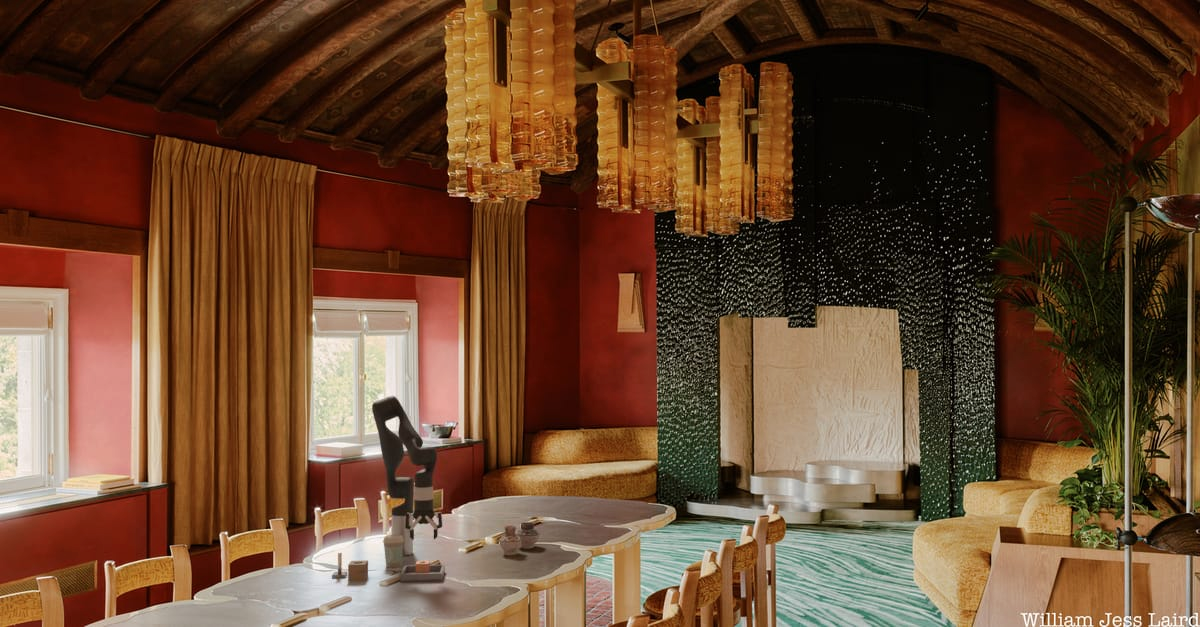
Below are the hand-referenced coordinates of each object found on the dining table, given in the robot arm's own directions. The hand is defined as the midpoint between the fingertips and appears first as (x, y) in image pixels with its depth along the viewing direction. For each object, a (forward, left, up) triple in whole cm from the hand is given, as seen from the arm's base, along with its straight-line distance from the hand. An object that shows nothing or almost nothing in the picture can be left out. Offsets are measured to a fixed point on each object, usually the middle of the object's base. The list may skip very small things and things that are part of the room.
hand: (423, 539), depth 361 cm
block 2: (0, -1, -14) cm, 14 cm away
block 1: (0, -25, -15) cm, 29 cm away
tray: (0, 0, -15) cm, 15 cm away
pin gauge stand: (-5, -33, -15) cm, 37 cm away
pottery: (-42, +38, -15) cm, 58 cm away
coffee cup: (-20, -14, -15) cm, 29 cm away
